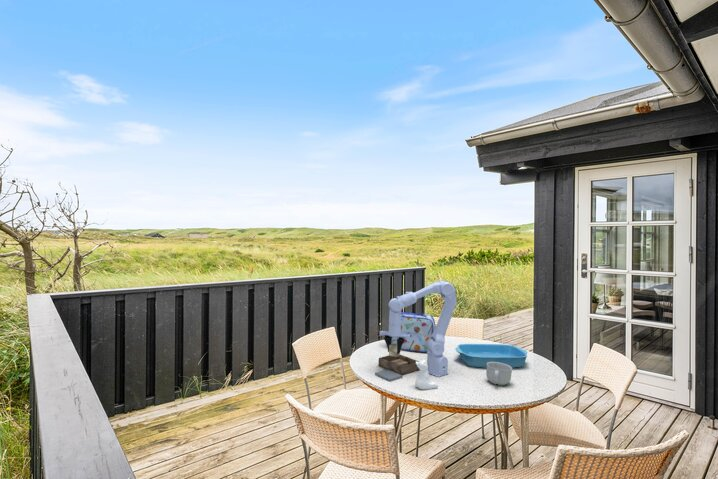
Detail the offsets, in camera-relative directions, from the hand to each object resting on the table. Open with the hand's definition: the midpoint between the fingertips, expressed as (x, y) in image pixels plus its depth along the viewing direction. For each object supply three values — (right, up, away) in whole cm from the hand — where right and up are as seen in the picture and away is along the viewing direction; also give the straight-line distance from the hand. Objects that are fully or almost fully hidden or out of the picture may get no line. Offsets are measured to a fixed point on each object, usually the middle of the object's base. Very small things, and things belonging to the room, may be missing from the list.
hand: (394, 352), depth 177 cm
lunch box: (+14, -10, +37) cm, 41 cm away
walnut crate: (+3, -10, +6) cm, 12 cm away
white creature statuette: (+11, -10, -17) cm, 23 cm away
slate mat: (-3, -9, -6) cm, 11 cm away
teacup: (+45, -11, -11) cm, 48 cm away
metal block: (0, -2, 0) cm, 2 cm away
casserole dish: (+53, -11, +18) cm, 57 cm away
